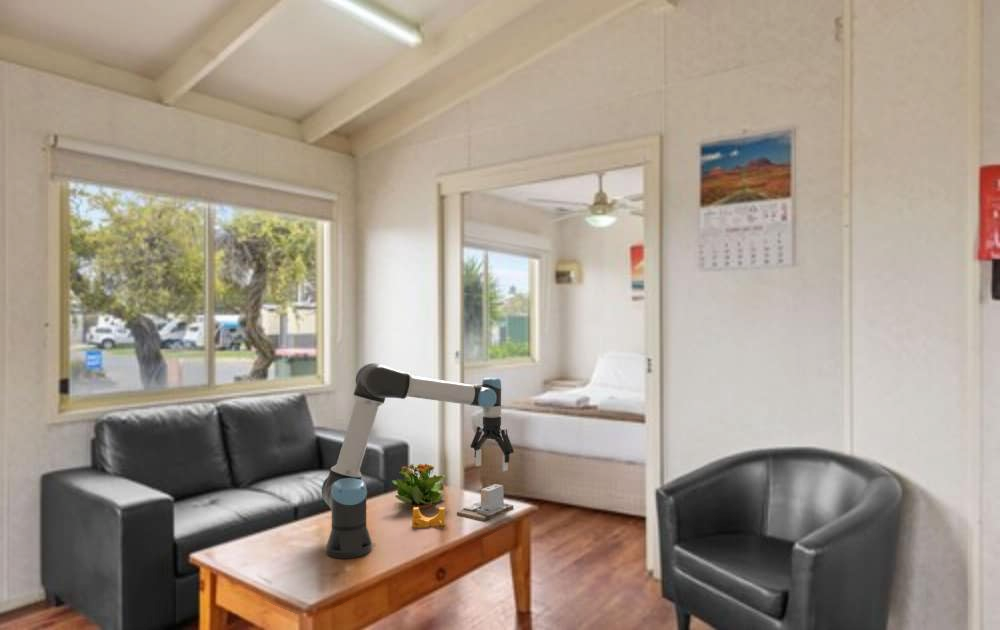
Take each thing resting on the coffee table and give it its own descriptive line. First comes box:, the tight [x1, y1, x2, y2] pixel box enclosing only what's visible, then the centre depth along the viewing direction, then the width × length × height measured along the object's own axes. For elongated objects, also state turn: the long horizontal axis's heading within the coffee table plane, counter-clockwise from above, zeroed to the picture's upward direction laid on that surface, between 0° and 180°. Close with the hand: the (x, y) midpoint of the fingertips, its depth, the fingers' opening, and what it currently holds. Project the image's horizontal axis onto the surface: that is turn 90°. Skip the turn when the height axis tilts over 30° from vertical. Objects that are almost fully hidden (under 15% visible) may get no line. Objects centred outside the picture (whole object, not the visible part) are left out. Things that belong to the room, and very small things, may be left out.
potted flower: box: [391, 463, 447, 510], centre depth 259 cm, size 25×24×18 cm
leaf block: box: [480, 483, 505, 513], centre depth 249 cm, size 10×4×9 cm, turn 144°
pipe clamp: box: [411, 506, 446, 528], centre depth 235 cm, size 12×4×6 cm, turn 89°
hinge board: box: [456, 500, 514, 522], centre depth 251 cm, size 20×14×2 cm
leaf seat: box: [477, 502, 509, 516], centre depth 249 cm, size 13×6×2 cm, turn 144°
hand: (491, 468), depth 249 cm, fingers open, 13 cm apart
